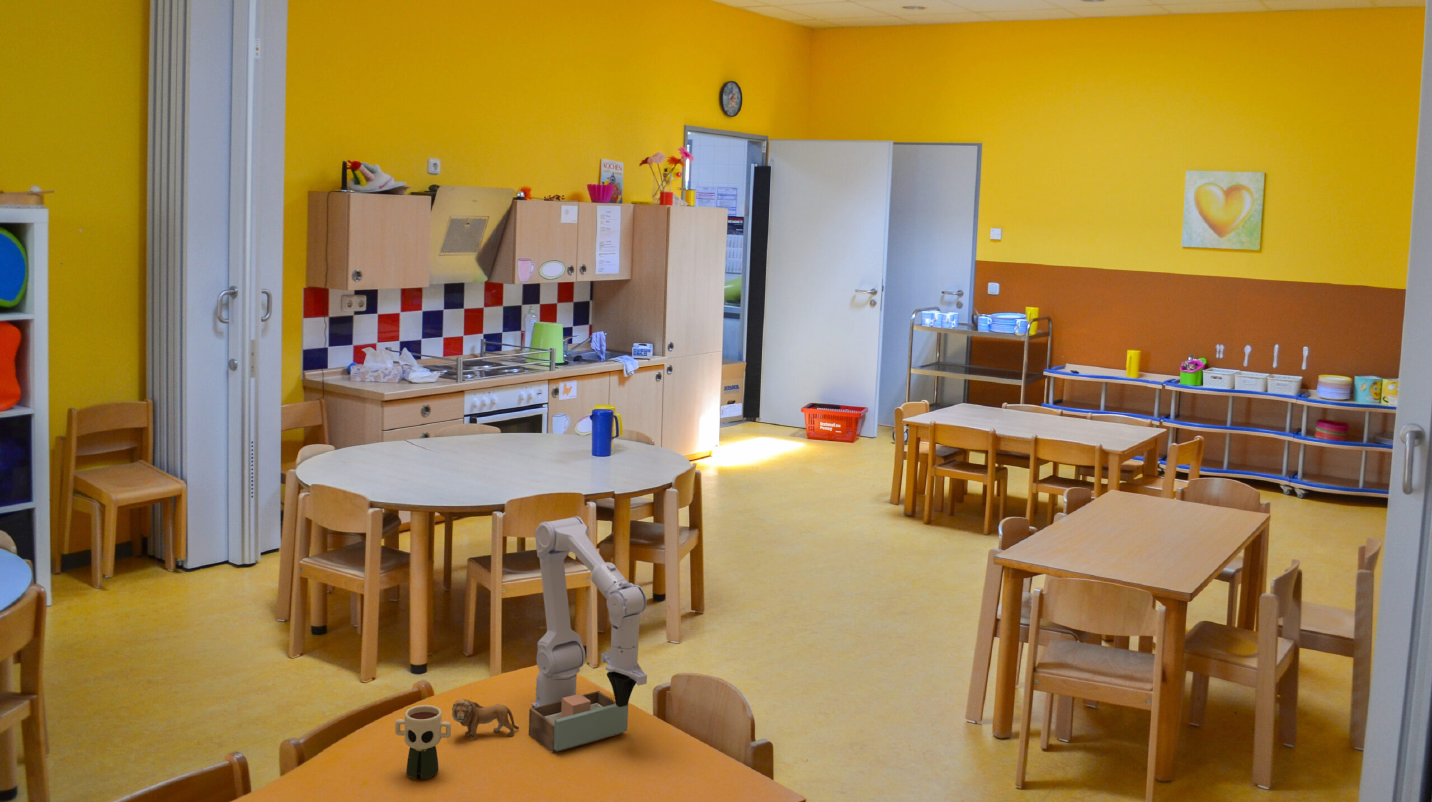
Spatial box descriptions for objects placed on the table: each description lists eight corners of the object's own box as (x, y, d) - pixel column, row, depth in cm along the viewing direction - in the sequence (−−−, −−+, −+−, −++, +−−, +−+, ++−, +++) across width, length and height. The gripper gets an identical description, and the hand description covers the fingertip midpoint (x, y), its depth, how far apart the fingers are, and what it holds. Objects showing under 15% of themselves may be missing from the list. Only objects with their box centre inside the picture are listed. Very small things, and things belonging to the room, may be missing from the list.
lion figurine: (454, 746, 246) (455, 706, 244) (448, 735, 250) (448, 696, 249) (522, 735, 253) (523, 695, 251) (514, 725, 257) (515, 686, 256)
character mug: (389, 781, 230) (390, 718, 228) (399, 763, 237) (400, 703, 235) (445, 784, 230) (447, 721, 228) (453, 766, 237) (455, 705, 235)
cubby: (528, 734, 253) (529, 708, 252) (597, 716, 264) (598, 690, 263) (552, 753, 245) (553, 725, 244) (623, 733, 256) (624, 707, 255)
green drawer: (530, 731, 252) (531, 703, 251) (600, 712, 263) (601, 685, 262) (556, 750, 244) (557, 721, 243) (627, 730, 255) (628, 702, 254)
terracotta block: (560, 724, 255) (561, 698, 254) (578, 719, 258) (579, 693, 257) (571, 732, 251) (572, 705, 250) (589, 727, 254) (590, 700, 253)
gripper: (589, 635, 249) (587, 696, 251) (627, 659, 238) (624, 722, 240) (618, 630, 253) (615, 689, 256) (656, 652, 242) (653, 714, 244)
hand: (621, 705), depth 248 cm, fingers closed
